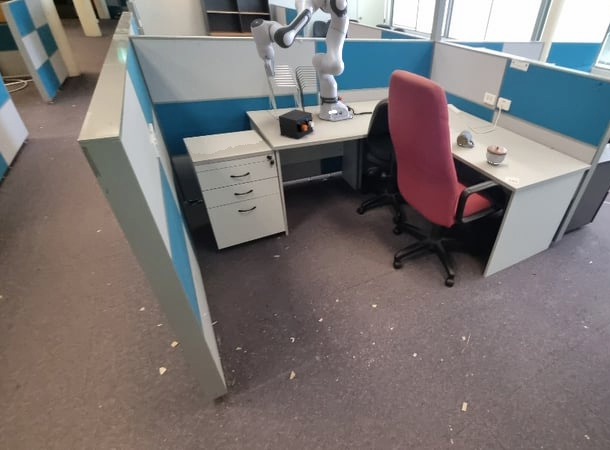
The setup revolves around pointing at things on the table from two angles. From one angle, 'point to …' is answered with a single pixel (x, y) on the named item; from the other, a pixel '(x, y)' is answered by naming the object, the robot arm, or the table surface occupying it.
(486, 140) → the table surface
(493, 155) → the trinket box
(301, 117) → the toaster oven
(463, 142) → the grey rounded lump
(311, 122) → the ivory button
